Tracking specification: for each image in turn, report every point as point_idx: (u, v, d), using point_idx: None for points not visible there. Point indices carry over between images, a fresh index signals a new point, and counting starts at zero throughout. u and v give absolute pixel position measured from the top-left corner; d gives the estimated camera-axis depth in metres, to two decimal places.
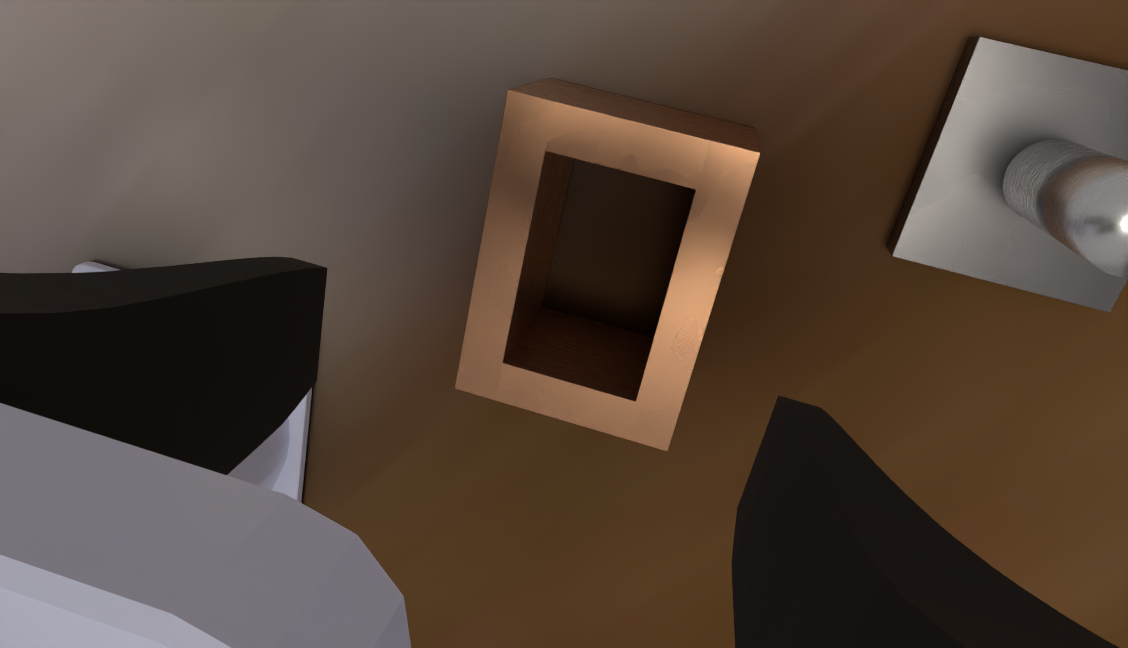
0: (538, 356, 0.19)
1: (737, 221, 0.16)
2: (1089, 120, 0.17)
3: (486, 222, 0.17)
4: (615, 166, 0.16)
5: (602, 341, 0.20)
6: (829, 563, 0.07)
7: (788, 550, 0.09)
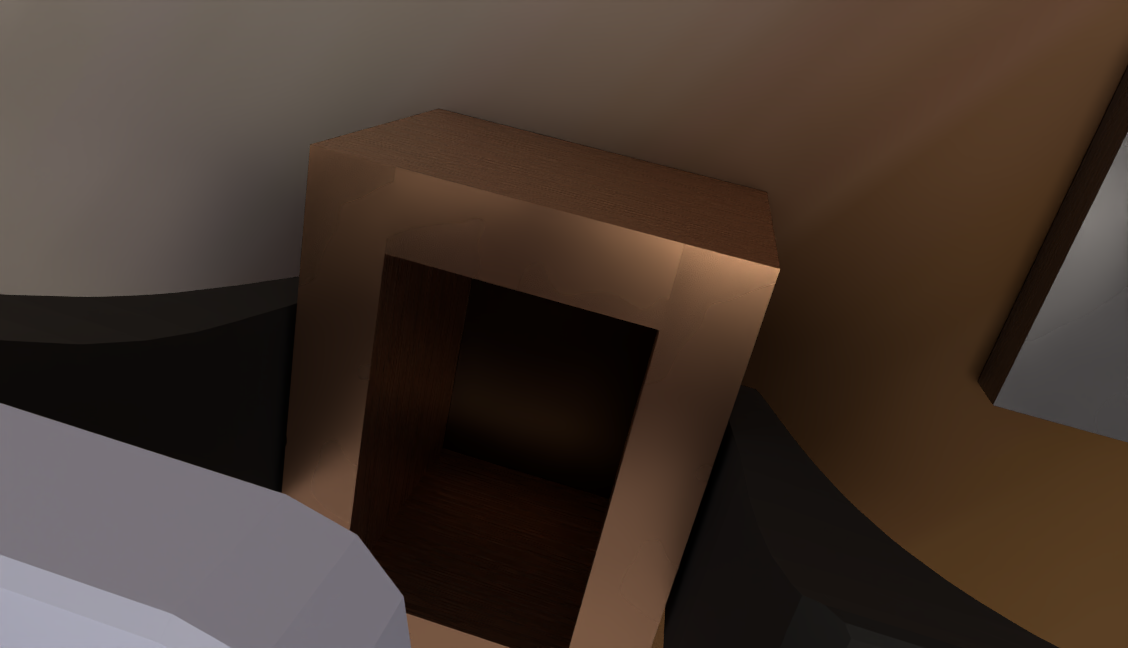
0: (411, 566, 0.11)
1: (736, 389, 0.08)
2: None
3: (294, 371, 0.10)
4: (510, 285, 0.09)
5: (526, 517, 0.13)
6: (732, 533, 0.07)
7: (708, 526, 0.09)
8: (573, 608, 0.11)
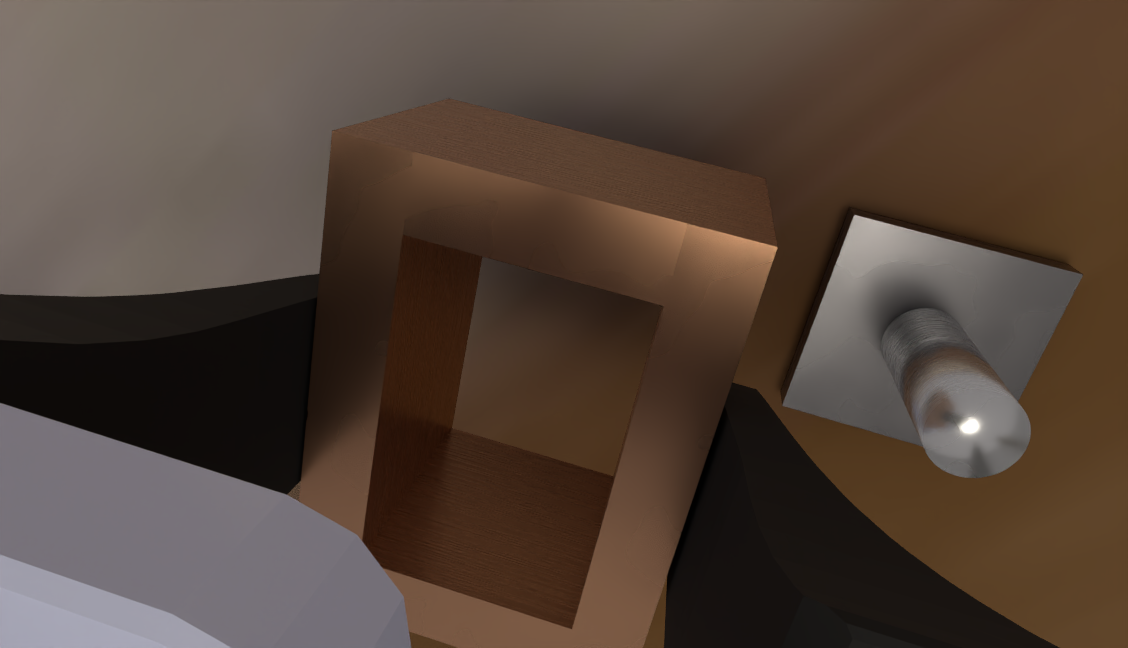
0: (425, 537, 0.12)
1: (736, 361, 0.09)
2: (958, 293, 0.18)
3: (315, 348, 0.10)
4: (522, 264, 0.09)
5: (534, 493, 0.14)
6: (732, 534, 0.07)
7: (708, 526, 0.09)
8: (580, 577, 0.12)
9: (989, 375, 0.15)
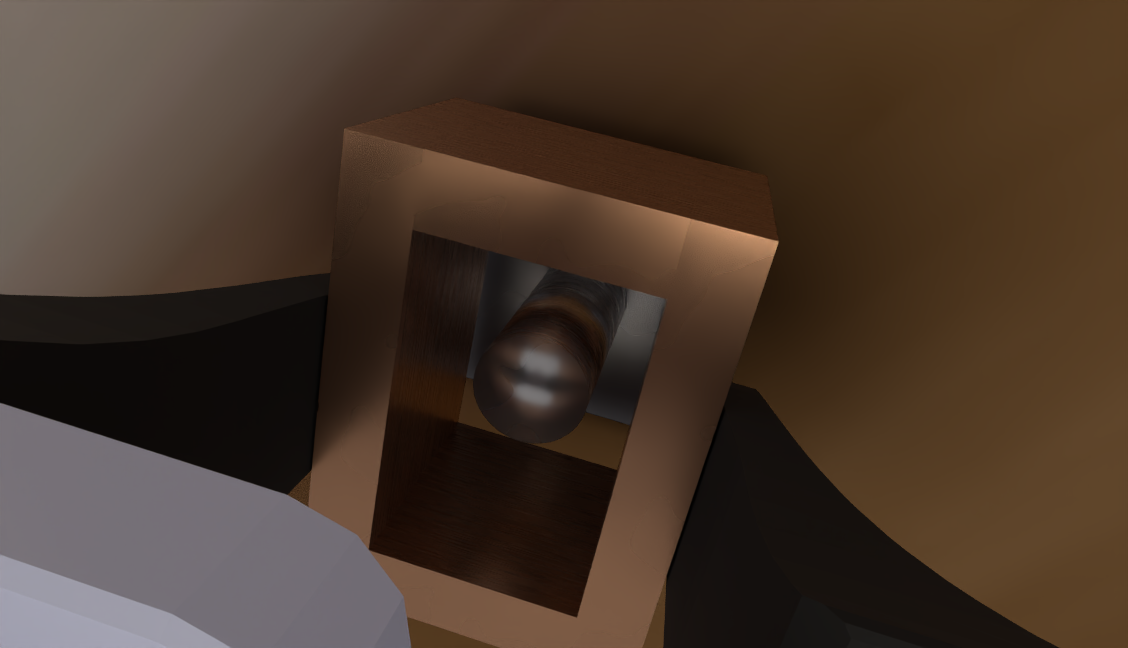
0: (433, 528, 0.12)
1: (738, 354, 0.09)
2: None
3: (326, 341, 0.10)
4: (529, 258, 0.09)
5: (539, 486, 0.14)
6: (731, 533, 0.07)
7: (708, 526, 0.09)
8: (585, 567, 0.12)
9: (559, 321, 0.12)
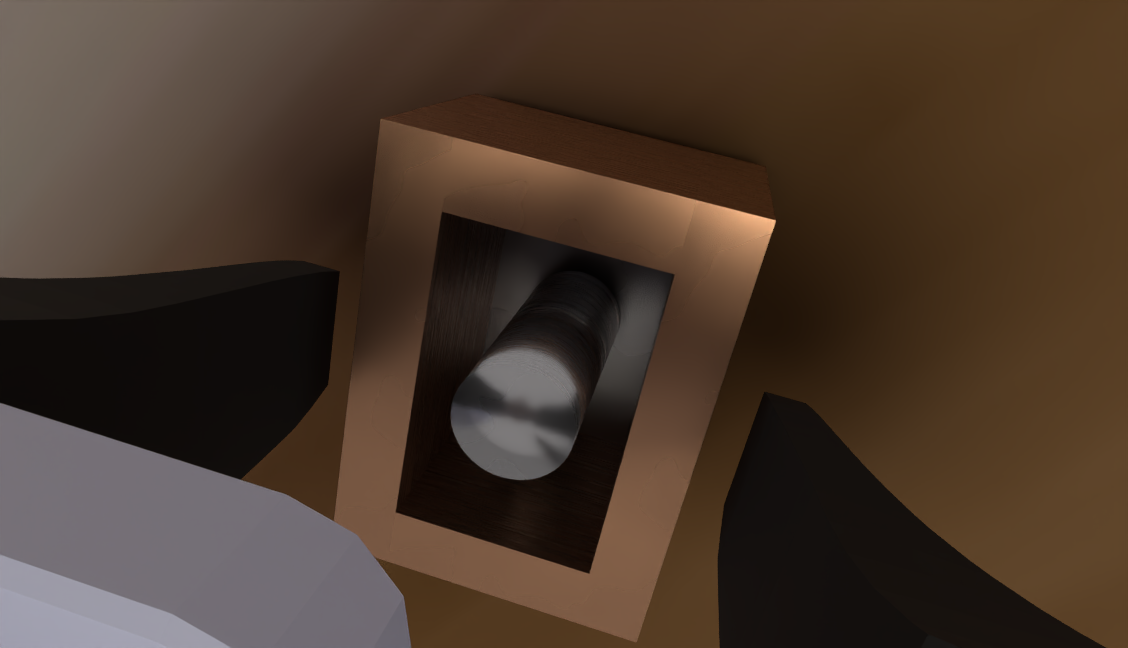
0: (453, 494, 0.13)
1: (739, 324, 0.10)
2: None
3: (360, 315, 0.11)
4: (549, 237, 0.10)
5: None
6: (807, 556, 0.07)
7: (771, 545, 0.09)
8: (595, 530, 0.13)
9: (545, 347, 0.11)
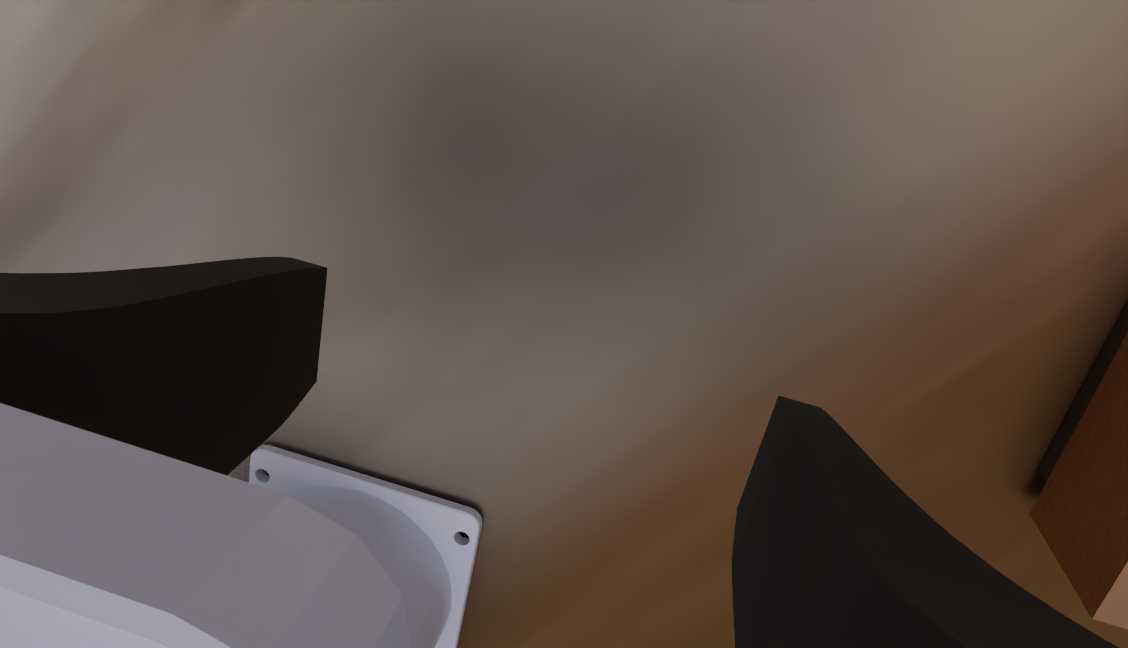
0: None
1: None
2: None
3: None
4: None
5: None
6: (829, 563, 0.07)
7: (789, 551, 0.09)
8: None
9: None
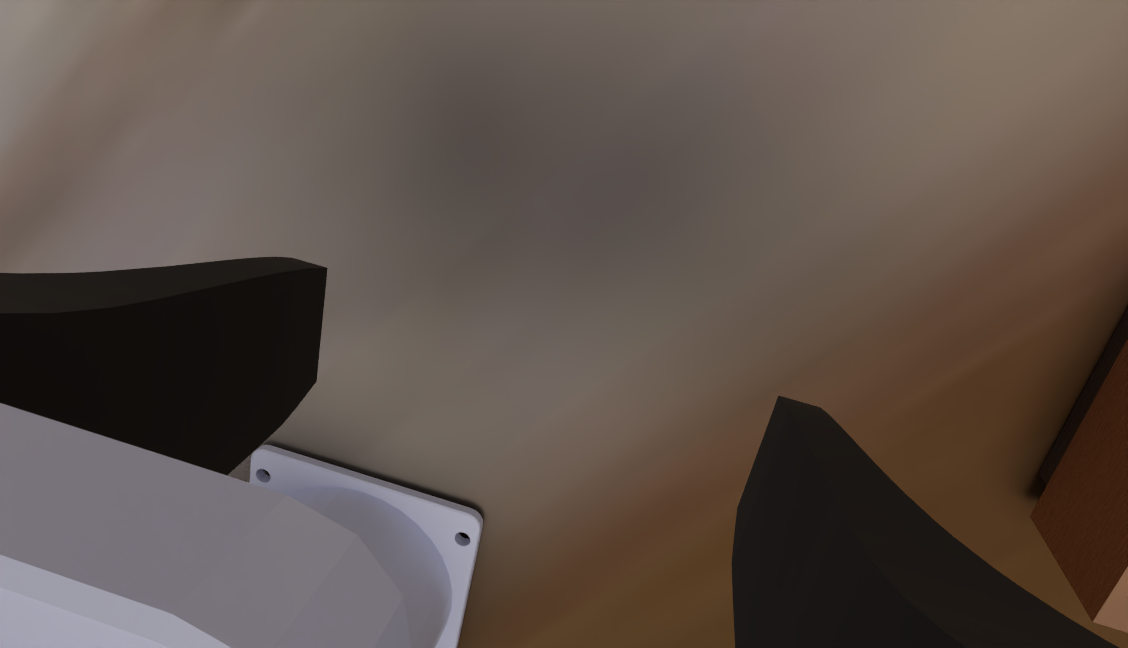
0: None
1: None
2: None
3: None
4: None
5: None
6: (829, 563, 0.07)
7: (789, 550, 0.09)
8: None
9: None
